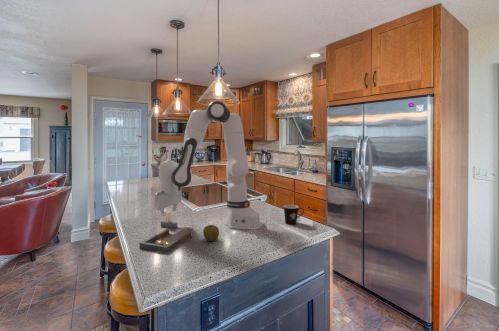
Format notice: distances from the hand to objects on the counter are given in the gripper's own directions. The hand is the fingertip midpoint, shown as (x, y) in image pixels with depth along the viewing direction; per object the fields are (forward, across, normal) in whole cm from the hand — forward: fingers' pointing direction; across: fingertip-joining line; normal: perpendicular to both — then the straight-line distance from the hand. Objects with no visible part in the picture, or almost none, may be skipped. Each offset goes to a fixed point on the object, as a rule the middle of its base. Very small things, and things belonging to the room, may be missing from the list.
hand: (169, 213), depth 148 cm
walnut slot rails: (+8, -14, -13) cm, 20 cm away
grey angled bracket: (+8, -23, -13) cm, 28 cm away
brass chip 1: (+8, -22, -11) cm, 25 cm away
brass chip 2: (+8, -22, -15) cm, 28 cm away
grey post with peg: (+8, 0, 0) cm, 8 cm away
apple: (+8, -9, -32) cm, 34 cm away
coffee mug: (+9, +30, -65) cm, 72 cm away
